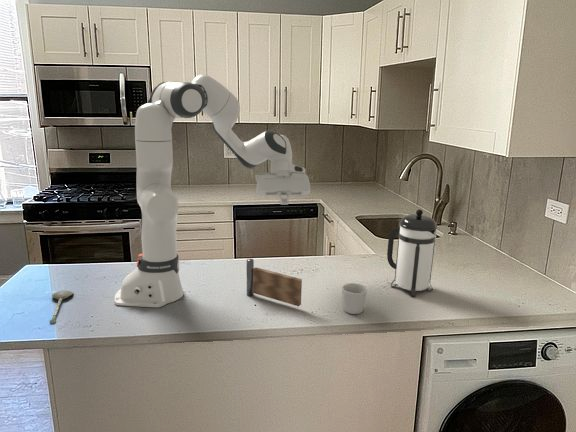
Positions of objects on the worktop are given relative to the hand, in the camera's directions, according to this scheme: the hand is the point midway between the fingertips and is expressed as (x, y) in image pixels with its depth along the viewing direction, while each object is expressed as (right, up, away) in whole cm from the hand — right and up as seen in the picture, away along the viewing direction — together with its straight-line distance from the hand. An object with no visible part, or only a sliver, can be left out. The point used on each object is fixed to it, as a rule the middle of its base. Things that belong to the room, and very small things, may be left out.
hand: (284, 203), depth 160 cm
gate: (-3, -32, -14) cm, 35 cm away
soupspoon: (-72, -34, -19) cm, 82 cm away
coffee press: (+45, -31, +1) cm, 55 cm away
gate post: (-12, -32, -8) cm, 35 cm away
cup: (+23, -35, -17) cm, 45 cm away
